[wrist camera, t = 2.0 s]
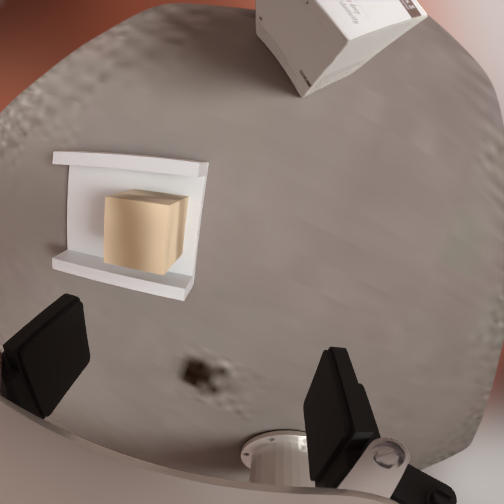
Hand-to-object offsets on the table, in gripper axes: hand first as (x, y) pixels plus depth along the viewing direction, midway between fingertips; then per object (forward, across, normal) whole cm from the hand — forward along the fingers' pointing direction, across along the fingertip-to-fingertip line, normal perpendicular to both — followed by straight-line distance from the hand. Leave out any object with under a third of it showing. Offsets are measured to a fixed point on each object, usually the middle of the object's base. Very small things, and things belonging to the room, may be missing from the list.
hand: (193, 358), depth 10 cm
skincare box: (+19, -3, -18) cm, 26 cm away
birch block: (+18, +8, 0) cm, 19 cm away
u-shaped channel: (+19, +11, 0) cm, 22 cm away
